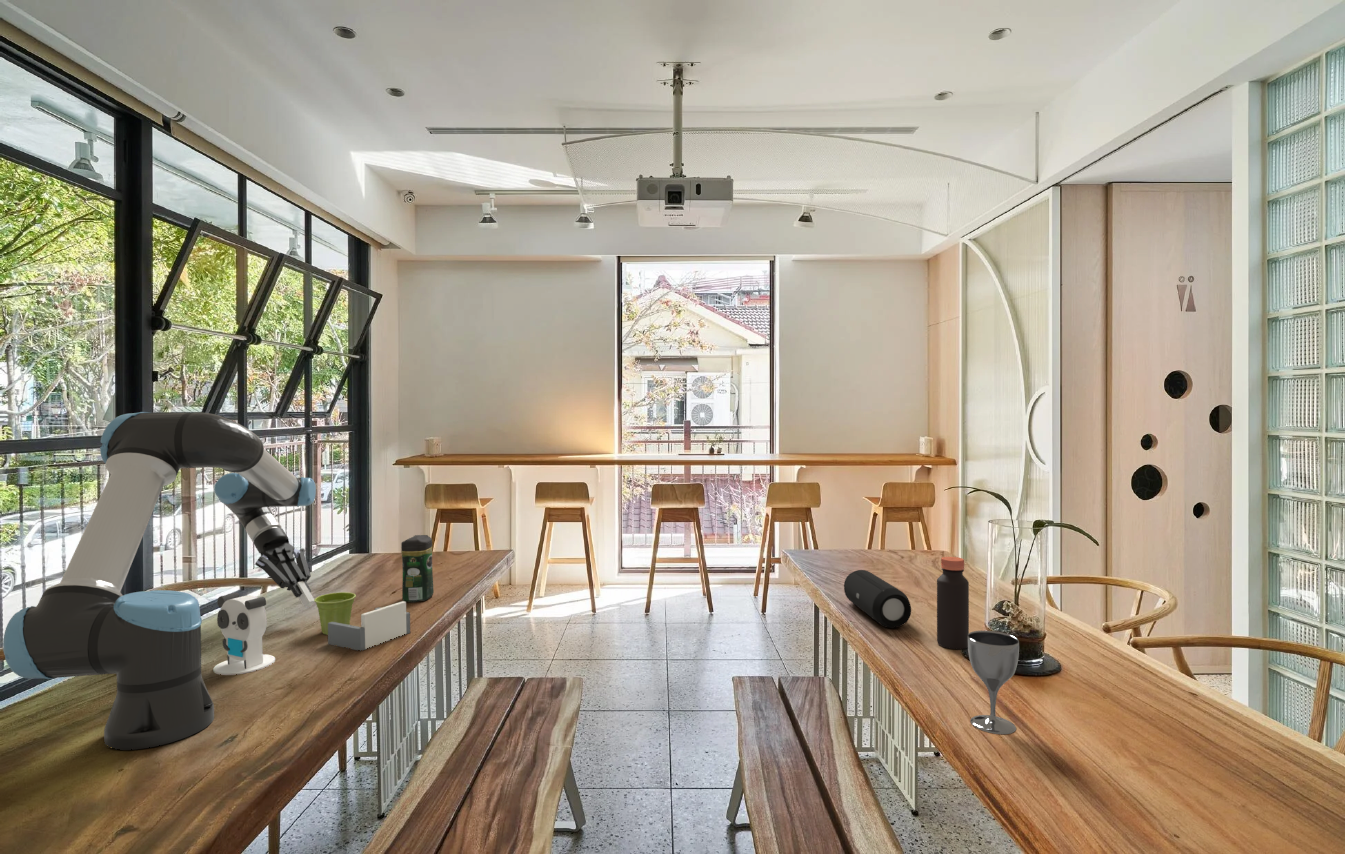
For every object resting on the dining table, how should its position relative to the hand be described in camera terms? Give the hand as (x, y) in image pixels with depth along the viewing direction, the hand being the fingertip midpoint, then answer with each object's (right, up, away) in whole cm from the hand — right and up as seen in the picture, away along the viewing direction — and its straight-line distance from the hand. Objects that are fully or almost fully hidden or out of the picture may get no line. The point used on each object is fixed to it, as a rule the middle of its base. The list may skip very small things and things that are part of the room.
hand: (309, 604), depth 174 cm
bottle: (+159, -5, -19) cm, 160 cm away
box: (+20, -5, -10) cm, 23 cm away
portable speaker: (+148, -5, +5) cm, 148 cm away
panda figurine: (0, -6, -27) cm, 28 cm away
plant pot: (+9, -6, -5) cm, 12 cm away
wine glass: (+149, -5, -58) cm, 160 cm away
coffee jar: (+18, -5, +25) cm, 32 cm away
